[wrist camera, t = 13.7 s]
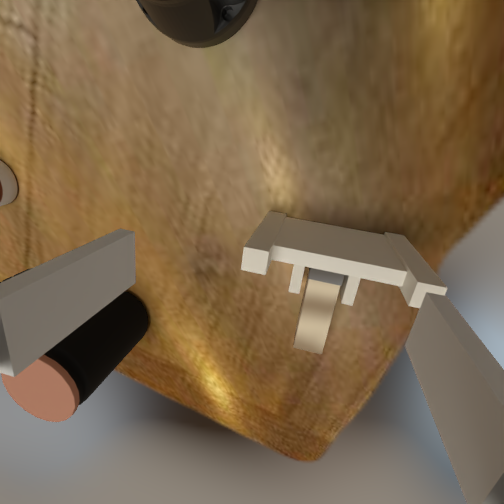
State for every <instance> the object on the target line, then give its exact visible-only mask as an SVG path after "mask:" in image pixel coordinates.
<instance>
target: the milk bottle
mask: <svg viewBox="0 0 504 504" xmlns="http://www.w3.org/2000/svg"><path fill="white" fill-rule="evenodd" d="M17 191H18V187H17V182H16V178H15V176H14V174H13V172H12V171H11V169H10V168H9V167H8V166H7V165H6V164H5V163H3V162H2V161H0V206H2V205H6V204H9V203H11V202H12V201H13V200H14V199H15V197H16V196H17Z"/></svg>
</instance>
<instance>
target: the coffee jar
mask: <svg viewBox="0 0 504 504" xmlns="http://www.w3.org/2000/svg"><path fill="white" fill-rule="evenodd" d="M147 325H148V317H147V313H146V310H145V308H144V306H143V305H142V303H141V302H140V301H139V300H138V299H137V298H136V297H135V296H133V295H131V294H130V293H128V292H123V293H122V294H120V295H119V296H118V297H117V298H115V299H114V300H113V301H112V302H110V303H109V304H108V305H106V306H105V307H104V308H103V309H101V310H100V311H99V312H97V313H96V314H95V315H94V316H92V317H91V318H90V319H88V320H87V321H86V322H85V323H83V324H82V325H81V326H79V327H78V328H77V329H76V330H74V331H73V332H72V333H70V334H69V335H68V336H67V337H65V338H64V339H63V340H61V341H60V342H59V343H58V344H56V345H55V346H54V347H52V348H51V349H50V350H49V351H47V352H46V353H45V354H43V355H42V356H41V357H40V358H38V359H37V360H36V361H35V362H33V363H32V364H31V365H29V366H28V367H27V368H26V369H24V370H23V371H22V372H20V373H19V374H18V375H17V376H15V377H12V376H9V375H6V374H3V373H1V375H2V380H3V383H4V385H5V387H6V389H7V391H8V393H9V394H10V396H11V397H12V398H13V399H14V401H15V402H16V403H17V404H18V405H20V406H21V407H22V408H23V409H24V410H25V411H27V412H29V413H31V414H32V415H34V416H35V417H37V418H40V419H43V420H46V421H52V422H60V421H64V420H67V419H68V418H69V417H70V416H71V415H73V414H74V412H75V411H76V410H77V407H78V405H80V404H81V403H83V402H84V401H85V400H86V399H87V398H88V397H89V396H90V395H91V394H92V393H93V392H94V391H95V390H96V388H97V387H98V386H99V385H100V384H101V383H102V382H103V381H104V379H105V378H106V377H107V376H108V375H109V374H110V373H111V372H112V371H113V370H114V368H115V367H116V366H117V365H118V364H119V363H120V362H121V361H122V360H123V358H124V357H125V356H126V355H127V354H128V353H129V352H130V351H131V350H132V348H133V347H134V346H135V345H136V344H137V343H138V342H139V341H140V340H141V339H142V337H143V336H144V335H145V332H146V330H147Z"/></svg>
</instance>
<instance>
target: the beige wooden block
mask: <svg viewBox="0 0 504 504" xmlns="http://www.w3.org/2000/svg"><path fill="white" fill-rule="evenodd" d="M343 279H344V275H343V274H339V273H334V272H329V271H324V270H319V269H314V268H309V272H308V277H307V281H306V285H305V290H304V294H303V299H302V303H301V308H300V312H299V317H298V321H297V326H296V332H295V339H294V346H293V347H294V348H298V349H302V350H306V351H310V352H314V353H318V354H322V351H323V348H324V344H325V340H326V337H327V333H328V329H329V326H330V322H331V318H332V315H333V311H334V307H335V304H336V300H337V296H338V293H339V289H340V286H342V282H343Z"/></svg>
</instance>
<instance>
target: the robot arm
mask: <svg viewBox="0 0 504 504" xmlns="http://www.w3.org/2000/svg"><path fill="white" fill-rule="evenodd" d="M136 1H137V3H138V4H139V6H140V8H141V10H142V11H143V13H144V14H145V16H146V17H147V18H148V20H149V21H150V22H151V23H152V24H153V25H154V26H155V27H156V28H157V29H158V30H159V31H161V32H162V33H163V34H165V35H166V36H168V37H169V38H171V39H172V40H174V41H176V42H178V43H180V44H182V45H185V46H189V47H195V48H204V47H210V46H214V45H217V44H219V43H221V42H223V41H225V40H227V39H228V38H230V37H231V36H232V35H234V34H235V33H236V32H237V31H238V30H239V29H240V28H241V27H242V26H243V24H244V23H245V22H246V20H247V19H248V18H249V16H250V14H251V13H252V11H253V9H254V7H255V5H256V2H257V0H136ZM135 283H136V276H135V232H134V231H129V230H124V229H118V230H116V231H114V232H112V233H109V234H107V235H105V236H103V237H101V238H98V239H96V240H94V241H92V242H90V243H87V244H85V245H83V246H81V247H79V248H76V249H74V250H72V251H70V252H67V253H65V254H63V255H61V256H59V257H56V258H54V259H52V260H50V261H48V262H45V263H43V264H41V265H39V266H37V267H34V268H31V269H27V270H25V271H23V272H21V273H18V274H16V275H14V277H9V278H7V279H5V280H3V282H0V373H3V374H6V375H9V376H12V377H15V376H17V375H18V374H19V373H20V372H22V371H23V370H24V369H26V368H27V367H28V366H29V365H31V364H32V363H33V362H35V361H36V360H37V359H38V358H40V357H41V356H42V355H43V354H45V353H46V352H47V351H49V350H50V349H51V348H52V347H54V346H55V345H56V344H58V343H59V342H60V341H61V340H63V339H64V338H65V337H67V336H68V335H69V334H70V333H72V332H73V331H74V330H76V329H77V328H78V327H79V326H81V325H82V324H83V323H85V322H86V321H87V320H88V319H90V318H91V317H92V316H94V315H95V314H96V313H97V312H99V311H100V310H101V309H103V308H104V307H105V306H106V305H108V304H109V303H110V302H112V301H113V300H114V299H115V298H117V297H118V296H119V295H120V294H122V293H123V292H124V291H126V290H127V289H128V288H129V287H131V286H132V285H133V284H135ZM405 347H406V350H407V352H408V355H409V357H410V360H411V363H412V365H413V368H414V370H415V373H416V375H417V378H418V380H419V383H420V385H421V388H422V390H423V393H424V395H425V398H426V401H427V403H428V406H429V408H430V411H431V413H432V416H433V418H434V421H435V423H436V426H437V428H438V431H439V434H440V436H441V439H442V441H443V444H444V446H445V449H446V451H447V454H448V456H449V459H450V461H451V464H452V467H453V469H454V471H455V474H456V477H457V479H458V482H459V484H460V487H461V489H462V492H463V494H464V497H465V500H466V502H467V504H504V370H503V368H502V367H501V366H500V364H499V363H498V362H497V361H496V359H495V358H494V357H493V355H492V354H491V353H490V352H489V350H488V349H487V348H486V347H485V345H484V344H483V343H482V341H481V340H480V339H479V338H478V336H477V335H476V334H475V332H474V331H473V330H472V329H471V327H470V326H469V325H468V323H467V322H466V321H465V320H464V318H463V317H462V316H461V314H460V313H459V312H458V310H457V309H456V308H455V307H454V305H453V304H452V303H451V302H450V300H449V299H448V298H447V296H443V295H438V294H434V293H429V292H426V294H425V297H424V299H423V302H422V304H421V307H420V309H419V312H418V314H417V317H416V319H415V322H414V324H413V327H412V329H411V332H410V334H409V337H408V339H407V342H406V344H405Z"/></svg>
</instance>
